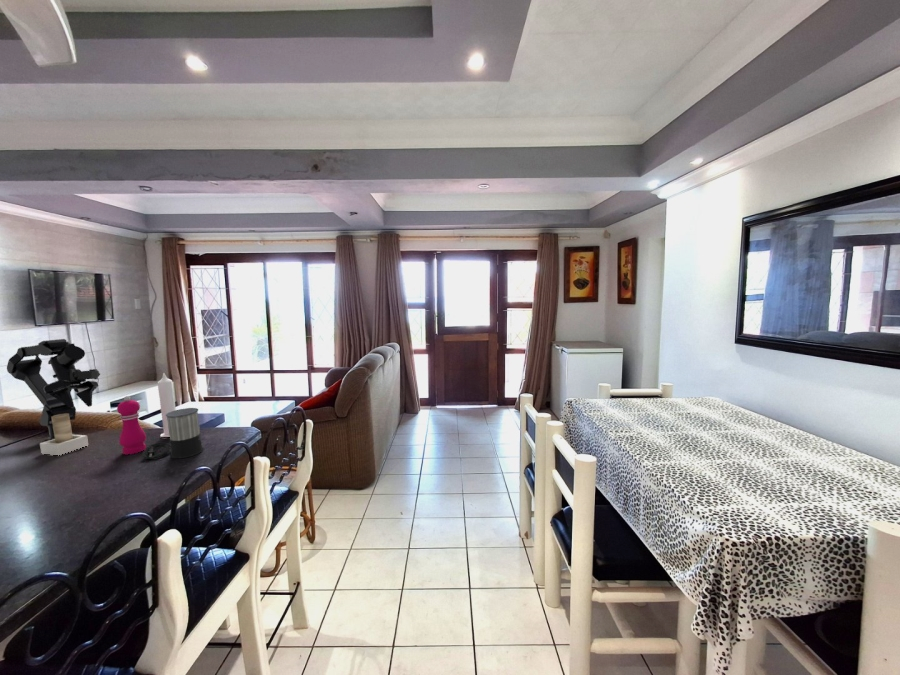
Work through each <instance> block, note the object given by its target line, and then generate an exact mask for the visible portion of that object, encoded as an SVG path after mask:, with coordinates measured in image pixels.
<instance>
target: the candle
mask: <svg viewBox="0 0 900 675" xmlns="http://www.w3.org/2000/svg"><path fill="white" fill-rule="evenodd" d="M173 385H174V384H173V380H172V379H170V378H168V376H167V375H166V373H165V372H163V373H162V377H161V379H160V380H158V381H157V390H158V397H159V405H160V411H161V412H160V413H161V419H162V428H163V433H161V434H160V436H159V437H160V438H161V437H170V435H169V428H168V420H167V416H166V414H167V413H169V412H172V411H175V410H177V408H176V402H175V401H176V400H175V392H174V386H173Z"/></svg>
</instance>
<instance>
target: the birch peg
mask: <svg viewBox="0 0 900 675" xmlns="http://www.w3.org/2000/svg"><path fill="white" fill-rule="evenodd" d="M51 418H52V424H53V430H54V436H55V442H56V443H62V442H65V441H69V440H72V439H73V436H72V433H73V431H72V423H71V420H70V417H69V414H68V413H66V414H59V415H55V416H52V417H51Z"/></svg>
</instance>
